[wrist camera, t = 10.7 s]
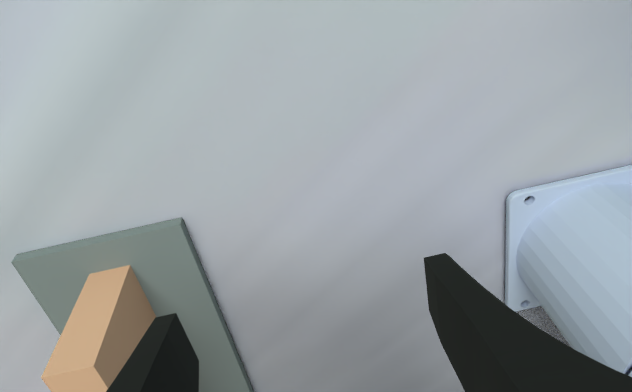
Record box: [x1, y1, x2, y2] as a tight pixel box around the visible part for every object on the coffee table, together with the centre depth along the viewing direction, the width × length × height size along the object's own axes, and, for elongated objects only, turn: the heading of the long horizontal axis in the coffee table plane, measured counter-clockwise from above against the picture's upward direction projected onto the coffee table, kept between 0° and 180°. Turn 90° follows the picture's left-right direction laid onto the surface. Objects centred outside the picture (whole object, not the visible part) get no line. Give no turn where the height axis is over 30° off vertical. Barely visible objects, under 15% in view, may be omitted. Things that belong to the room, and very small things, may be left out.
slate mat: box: [12, 218, 254, 392], centre depth 27 cm, size 8×16×1 cm, turn 11°
